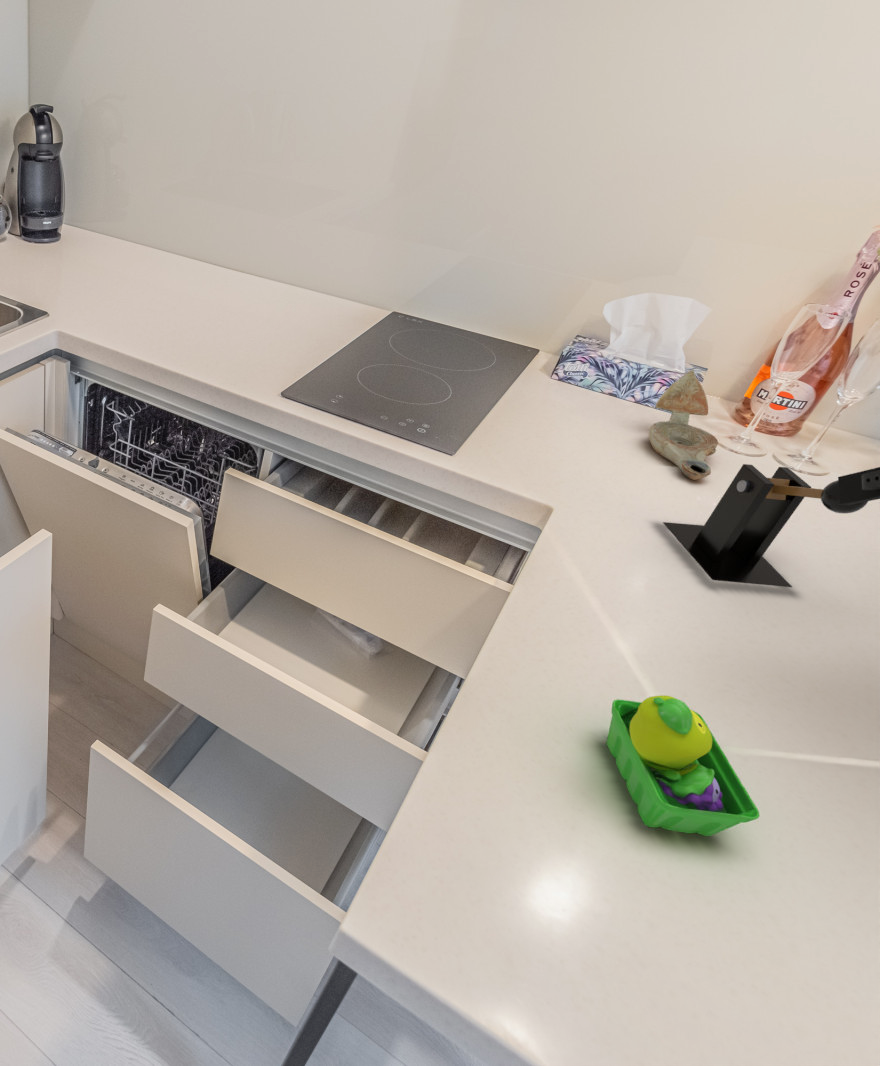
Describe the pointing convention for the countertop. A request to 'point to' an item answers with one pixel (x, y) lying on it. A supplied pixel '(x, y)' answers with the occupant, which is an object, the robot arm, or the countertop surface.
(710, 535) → the switch bracket
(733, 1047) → the countertop surface
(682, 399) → the oil lamp
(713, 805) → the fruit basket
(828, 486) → the switch lever
